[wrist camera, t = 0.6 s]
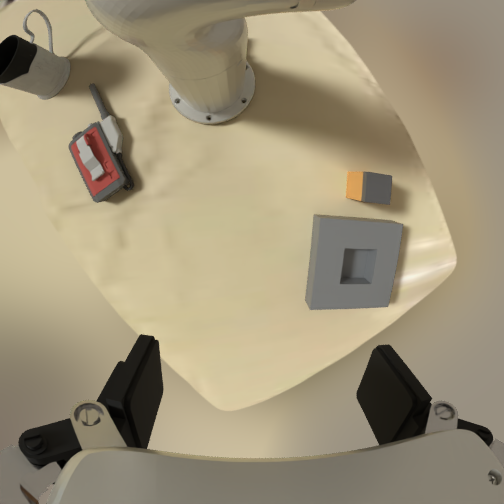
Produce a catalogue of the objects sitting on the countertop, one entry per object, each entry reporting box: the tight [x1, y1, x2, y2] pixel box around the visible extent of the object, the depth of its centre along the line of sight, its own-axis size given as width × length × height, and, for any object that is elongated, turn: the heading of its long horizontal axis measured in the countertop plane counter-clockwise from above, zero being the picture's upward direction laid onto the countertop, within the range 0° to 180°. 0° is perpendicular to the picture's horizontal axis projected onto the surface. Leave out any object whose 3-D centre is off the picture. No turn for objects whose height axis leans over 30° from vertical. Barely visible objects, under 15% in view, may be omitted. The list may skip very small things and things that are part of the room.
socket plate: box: [305, 215, 403, 310], centre depth 42 cm, size 14×14×4 cm
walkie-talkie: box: [69, 84, 134, 203], centre depth 35 cm, size 9×4×20 cm
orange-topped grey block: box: [346, 172, 392, 205], centre depth 37 cm, size 4×4×7 cm
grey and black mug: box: [0, 9, 70, 99], centre depth 24 cm, size 9×14×15 cm, turn 166°
